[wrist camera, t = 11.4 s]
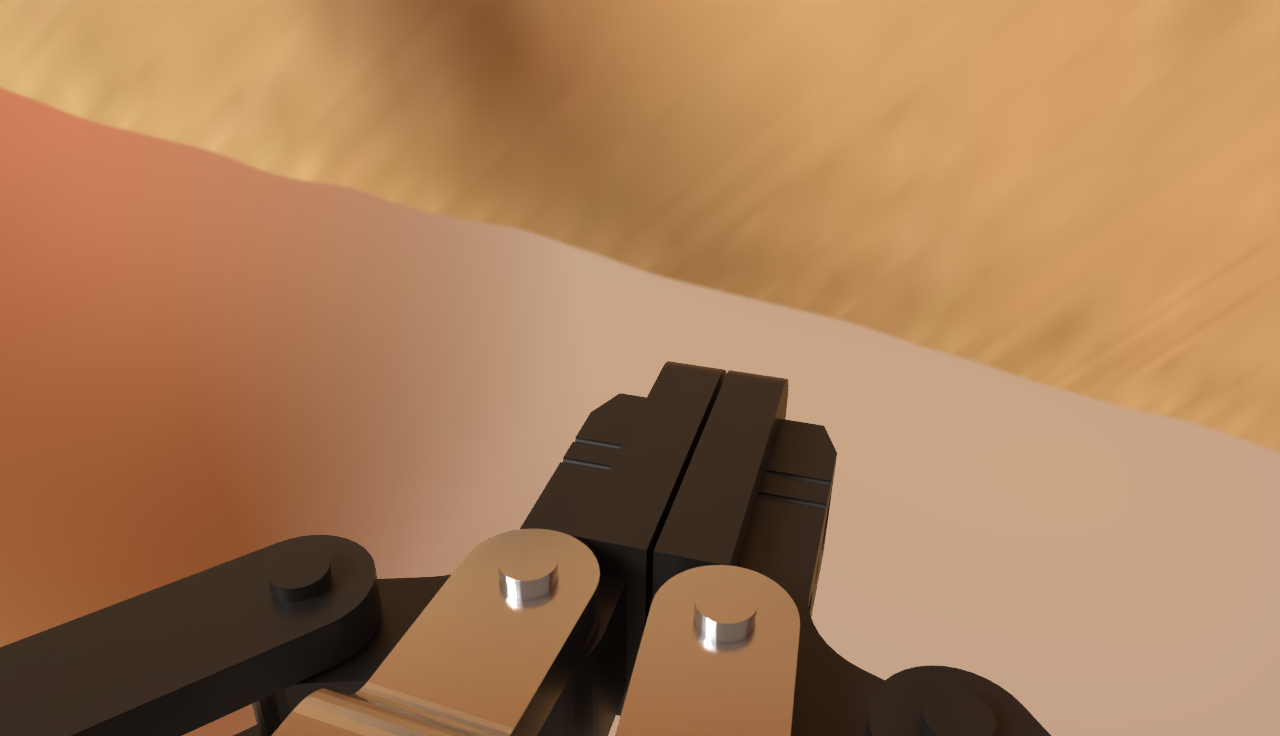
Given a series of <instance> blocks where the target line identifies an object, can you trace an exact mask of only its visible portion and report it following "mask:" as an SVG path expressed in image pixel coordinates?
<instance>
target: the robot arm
mask: <svg viewBox="0 0 1280 736" xmlns="http://www.w3.org/2000/svg"><path fill="white" fill-rule="evenodd" d="M787 397H788V379H783V378H776V377H770V376H762V375H756V374H749V373H743V372H736V371H728V373H727V375H726V371H725V370H722V369H715V368H708V367H701V366H695V365H688V364H682V363H675V362H667V363H666V364H665V365H664V367H663V368H662V370H661V372H660V374H659V376H658V378H657V380H656V382H655V384H654V385H653V387H652V389H651V391H650V393H649V395H648V397H647V398H645V397H639V396H633V395H626V394H618V395H617V396H615V397H614V398H612V399H611V400H609V401H608V402H606V403H605V404H603V405H602V406H600V407H599V408H597V409H595V410H594V411H592V412H591V413H590V415H589V417H588V418H587V420H586V421H585V423H584V425H583V426H582V428H581V430H580V431H579V433H578V435H577V436H576V441H575V442H573V443H572V445H571V446H570V448H569V449H568V451H567V453H566V454H565V456H564V459H563V463H560V464H559V466H558V467H557V469H556V471H555V472H554V474H553V476H552V477H551V479H550V480H549V482H548V484H547V485H546V487H545V489H544V490H543V492H542V494H541V495H540V497H539V499H538V500H537V502H536V504H535V505H534V507H533V508H532V510H531V512H530V513H529V515H528V517H527V518H526V520H525V522H524V523H523V525H522V526H521V528H520V530H514V531H509V532H506V533H502V534H499V535H497V536H494V537H492V538H490V539H488V540H486V541H484V542H482V543H480V544H479V545H478V546H476V547H475V548H474V549H473V550H471V552H470V553H469V554H468V555H467V556H466V557H465V558H464V559H463V561H462V562H461V563H460V564H459V566H458V567H457V568H456V570H455V571H454V572H453V574H451V575H446V576H437V577H420V578H397V579H377V576H376V569H375V564H374V561H373V559H372V557H371V555H370V554H369V553H368V552H367V550H366V549H365V548H363V547H362V546H360V545H359V544H357V543H356V542H353V541H351V540H348V539H346V538H342V537H338V536H330V535H310V536H301V537H297V538H292V539H288V540H285V541H282V542H279V543H276V544H273V545H271V546H268V547H265V548H263V549H260V550H257V551H255V552H252V553H250V554H247V555H244V556H242V557H239V558H237V559H234V560H231V561H228V562H226V563H223V564H221V565H218V566H215V567H213V568H210V569H207V570H204V571H202V572H199V573H197V574H194V575H191V576H189V577H186V578H183V579H181V580H178V581H175V582H173V583H170V584H168V585H165V586H162V587H160V588H157V589H154V590H152V591H149V592H147V593H144V594H141V595H138V596H136V597H133V598H130V599H128V600H125V601H122V602H120V603H117V604H114V605H112V606H109V607H107V608H104V609H101V610H99V611H96V612H93V613H91V614H88V615H85V616H83V617H80V618H77V619H75V620H72V621H69V622H67V623H64V624H62V625H59V626H56V627H54V628H51V629H48V630H46V631H43V632H40V633H38V634H36V635H32V636H30V637H27V638H24V639H22V640H19V641H17V642H14V643H11V644H9V645H6V646H3V647H1V648H0V736H182V735H184V734H186V733H188V732H190V731H193V730H195V729H197V728H199V727H202V726H204V725H206V724H208V723H210V722H213V721H215V720H217V719H219V718H221V717H224V716H226V715H228V714H230V713H232V712H234V711H237V710H239V709H241V708H243V707H245V706H248V705H249V704H252V706H253V709H254V714H255V717H256V721H257V725H255V726H253V727H251V728H249V729H247V730H245V731H242V732H240V733H238V734H236V735H234V736H608V734H609V731H610V729H611V726H612V723H613V721H614V718H615V715H620V720H619V724H618V727H617V732H616V735H615V736H1051V735H1050V734H1049V733H1048V732H1047V731H1046V730H1045V729H1044V728H1043V727H1042V726H1041V724H1040V723H1039V722H1038V721H1037V720H1036V719H1035V718H1034V717H1033V716H1032V715H1031V714H1030V713H1029V712H1028V710H1027V709H1026V708H1025V707H1024V706H1023V705H1022V704H1021V703H1020V702H1019V701H1018V700H1017V699H1015V698H1014V697H1013V696H1012V695H1011V694H1010V693H1008V692H1007V691H1006V690H1004V689H1003V688H1001V687H1000V686H998V685H997V684H995V683H993V682H991V681H989V680H988V679H986V678H983V677H981V676H979V675H976V674H974V673H971V672H967V671H965V670H961V669H957V668H951V667H946V666H921V667H914V668H910V669H906V670H903V671H901V672H899V673H896V674H894V675H893V676H891V677H890V678H888V679H887V680H883V679H881V678H879V677H877V676H875V675H872V674H871V673H868V672H866V671H864V670H862V669H860V668H859V667H857V666H855V665H853V664H852V663H850V662H848V661H847V660H845V659H844V658H843V657H841V656H840V655H839V654H837V653H836V652H835V651H834V650H833V649H832V648H831V647H830V646H829V645H828V644H826V642H825V641H824V640H823V638H822V637H821V636H820V635H819V633H818V631H817V629H816V628H815V626H814V624H813V622H812V619H811V616H812V609H813V604H814V599H815V593H816V589H817V582H818V578H819V573H820V567H821V562H822V556H823V551H824V543H825V536H826V529H827V522H828V514H829V506H830V499H831V492H832V485H833V478H834V471H835V463H836V456H837V452H836V450H835V448H834V446H833V444H832V442H831V440H830V438H829V436H828V433H827V431H826V429H825V427H824V426H821V425H815V424H809V423H803V422H796V421H790V420H785V416H786V406H787Z"/></svg>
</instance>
